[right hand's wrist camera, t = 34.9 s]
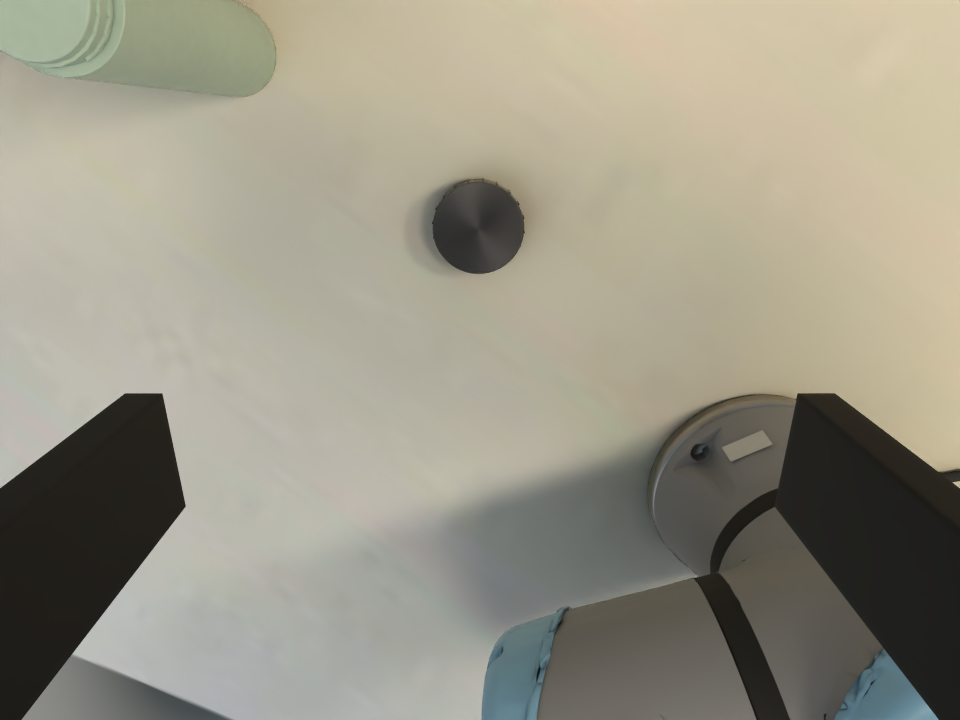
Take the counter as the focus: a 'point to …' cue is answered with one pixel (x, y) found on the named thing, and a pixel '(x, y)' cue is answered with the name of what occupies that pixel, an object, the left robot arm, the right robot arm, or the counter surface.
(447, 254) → the lid
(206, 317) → the counter surface
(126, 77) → the pale green bottle
